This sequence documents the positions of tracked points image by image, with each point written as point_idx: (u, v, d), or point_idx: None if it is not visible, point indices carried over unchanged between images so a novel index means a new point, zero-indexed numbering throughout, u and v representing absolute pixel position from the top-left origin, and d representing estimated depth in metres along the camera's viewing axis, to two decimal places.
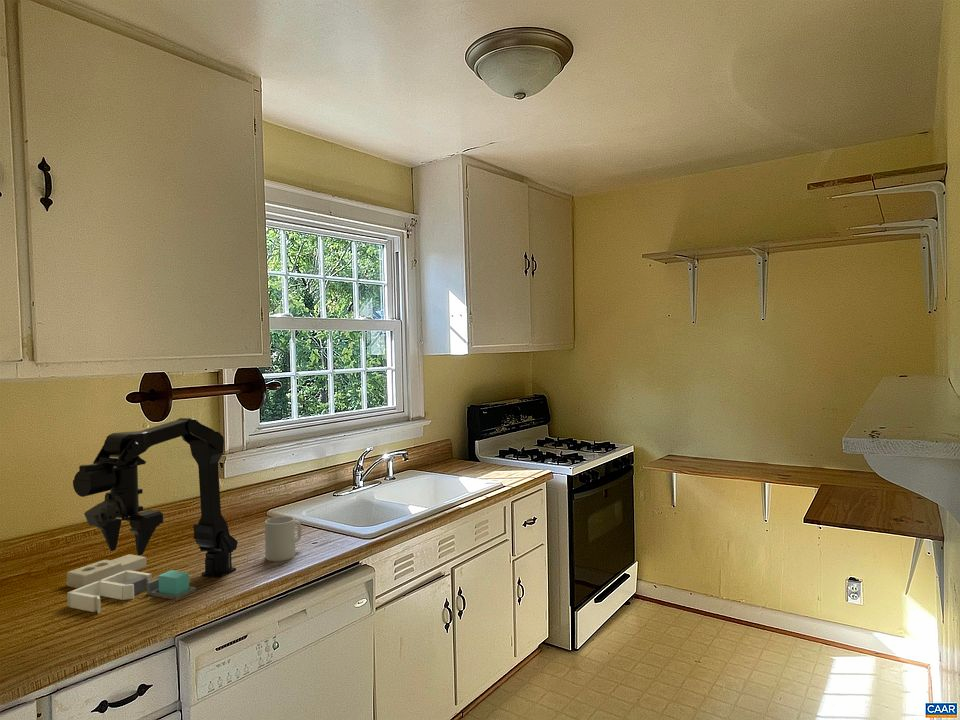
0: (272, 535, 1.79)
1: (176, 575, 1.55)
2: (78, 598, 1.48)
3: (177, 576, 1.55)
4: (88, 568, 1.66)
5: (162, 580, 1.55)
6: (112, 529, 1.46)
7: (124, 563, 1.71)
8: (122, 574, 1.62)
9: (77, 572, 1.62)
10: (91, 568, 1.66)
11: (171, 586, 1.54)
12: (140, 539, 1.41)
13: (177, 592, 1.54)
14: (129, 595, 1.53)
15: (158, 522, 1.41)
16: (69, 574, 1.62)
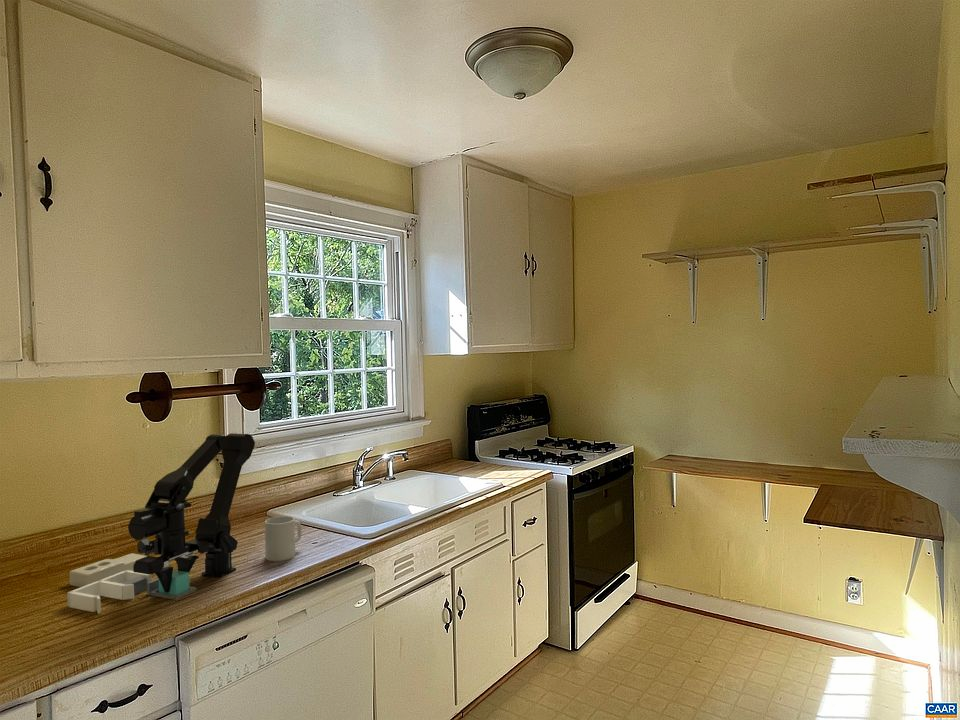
0: (272, 535, 1.79)
1: (176, 575, 1.55)
2: (78, 598, 1.48)
3: (177, 576, 1.55)
4: (91, 567, 1.67)
5: None
6: (182, 566, 1.59)
7: (126, 562, 1.72)
8: (122, 574, 1.62)
9: (80, 571, 1.63)
10: (94, 567, 1.67)
11: (171, 586, 1.54)
12: (159, 577, 1.53)
13: (177, 592, 1.54)
14: (129, 595, 1.53)
15: (144, 572, 1.47)
16: (72, 573, 1.63)
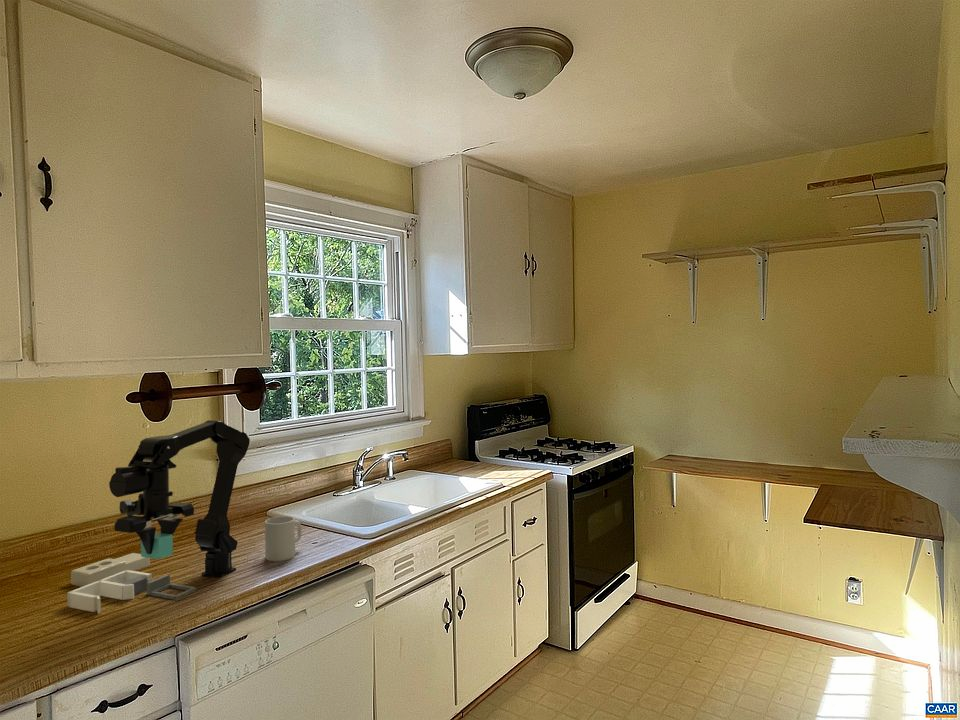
0: (272, 535, 1.79)
1: (159, 536, 1.51)
2: (78, 598, 1.48)
3: (160, 537, 1.51)
4: (92, 567, 1.67)
5: None
6: (165, 529, 1.55)
7: (128, 562, 1.72)
8: (122, 574, 1.62)
9: (81, 570, 1.63)
10: (95, 567, 1.67)
11: (153, 547, 1.50)
12: (141, 538, 1.50)
13: (160, 553, 1.50)
14: (129, 595, 1.53)
15: (126, 530, 1.43)
16: (73, 573, 1.63)
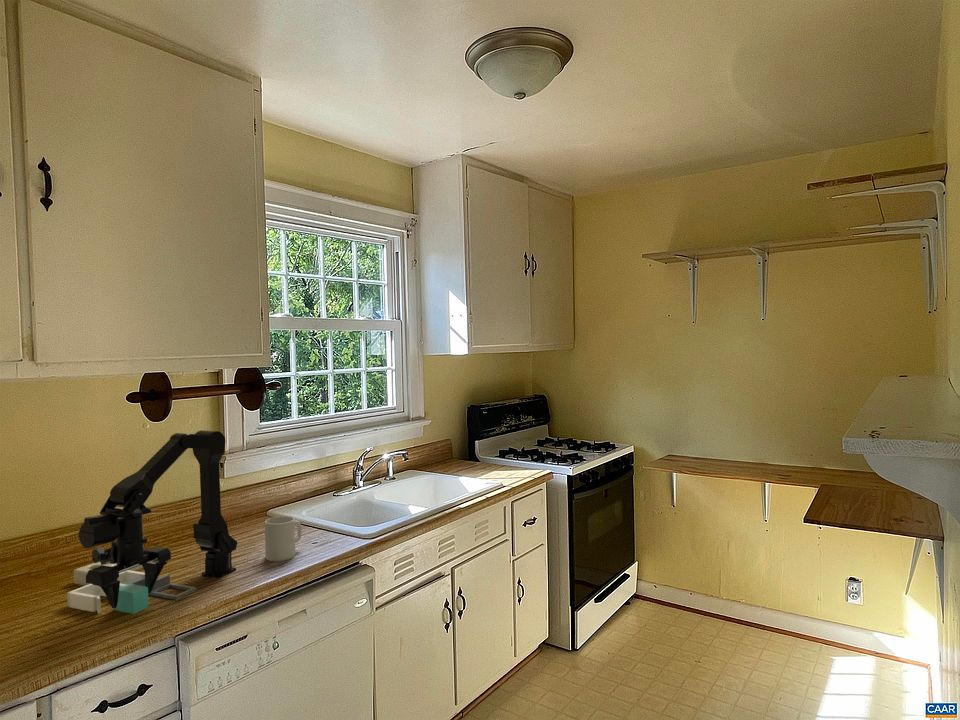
0: (272, 535, 1.79)
1: (134, 590, 1.46)
2: (78, 598, 1.48)
3: (135, 591, 1.46)
4: (95, 566, 1.68)
5: (119, 595, 1.46)
6: (149, 572, 1.52)
7: None
8: (122, 574, 1.62)
9: (84, 570, 1.64)
10: (98, 566, 1.68)
11: (127, 601, 1.45)
12: (105, 592, 1.42)
13: (134, 608, 1.45)
14: None
15: (97, 583, 1.38)
16: (76, 572, 1.64)
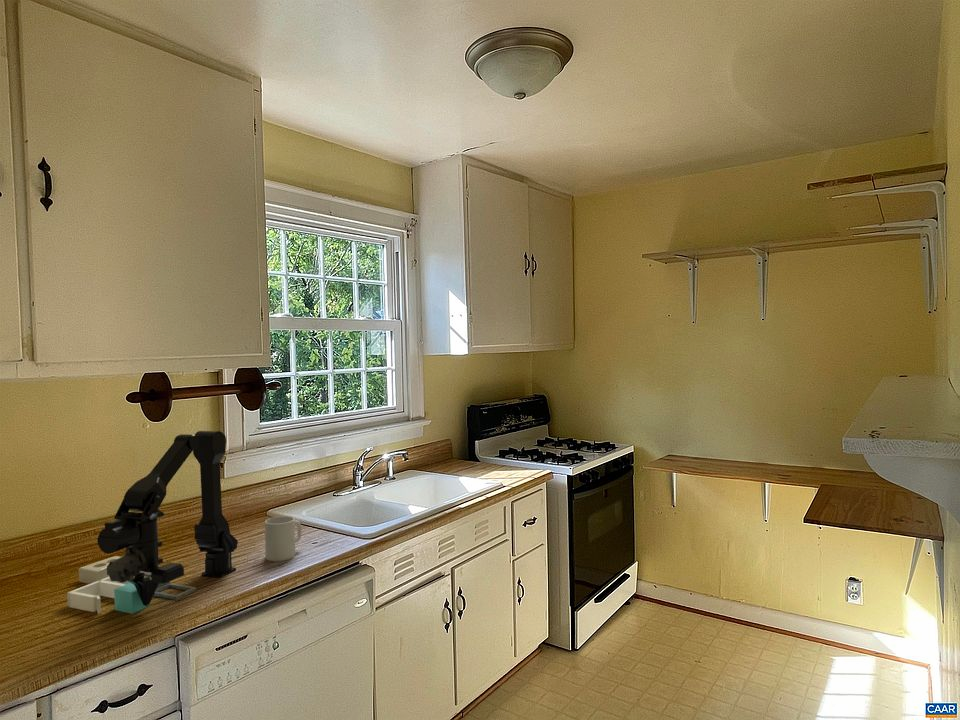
0: (272, 535, 1.79)
1: (133, 589, 1.46)
2: (78, 598, 1.48)
3: (134, 590, 1.46)
4: (99, 564, 1.69)
5: (118, 594, 1.46)
6: None
7: None
8: None
9: (89, 568, 1.65)
10: (102, 564, 1.69)
11: (127, 601, 1.45)
12: (147, 590, 1.44)
13: (133, 607, 1.45)
14: None
15: (179, 575, 1.43)
16: (81, 570, 1.65)
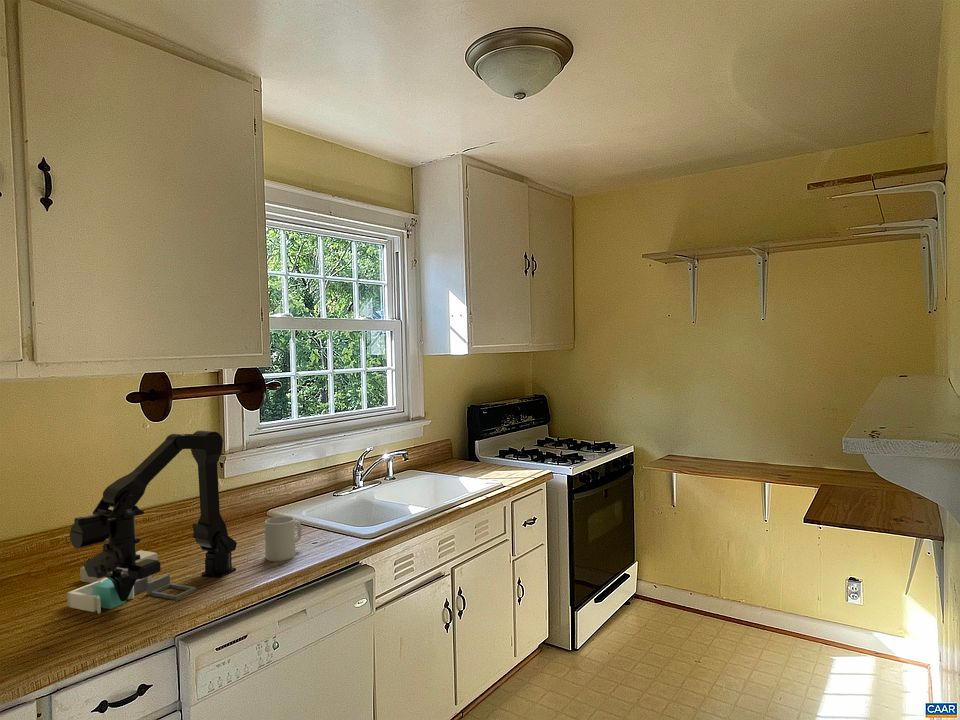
0: (272, 535, 1.79)
1: (111, 585, 1.49)
2: (78, 598, 1.48)
3: (112, 586, 1.48)
4: None
5: (96, 590, 1.49)
6: None
7: None
8: None
9: None
10: None
11: (105, 597, 1.48)
12: (124, 586, 1.47)
13: (111, 603, 1.48)
14: (129, 595, 1.53)
15: (155, 571, 1.46)
16: (83, 569, 1.66)
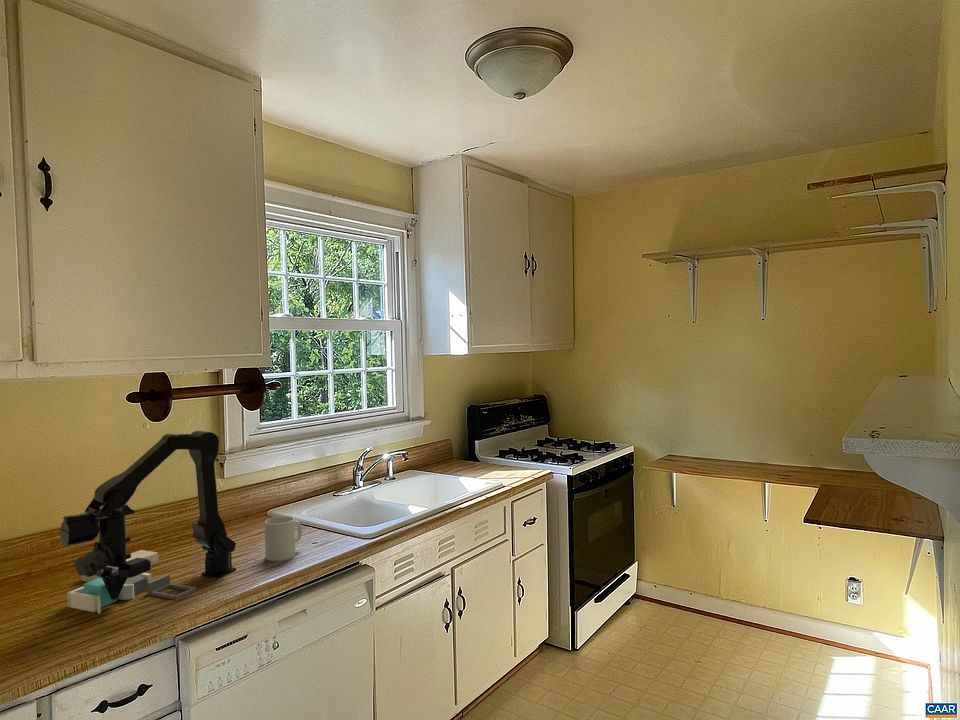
0: (272, 535, 1.79)
1: (102, 584, 1.50)
2: (78, 598, 1.48)
3: (103, 585, 1.50)
4: None
5: (87, 589, 1.50)
6: None
7: None
8: None
9: None
10: None
11: (95, 595, 1.49)
12: (115, 584, 1.48)
13: (102, 601, 1.49)
14: (129, 595, 1.53)
15: (146, 570, 1.47)
16: None
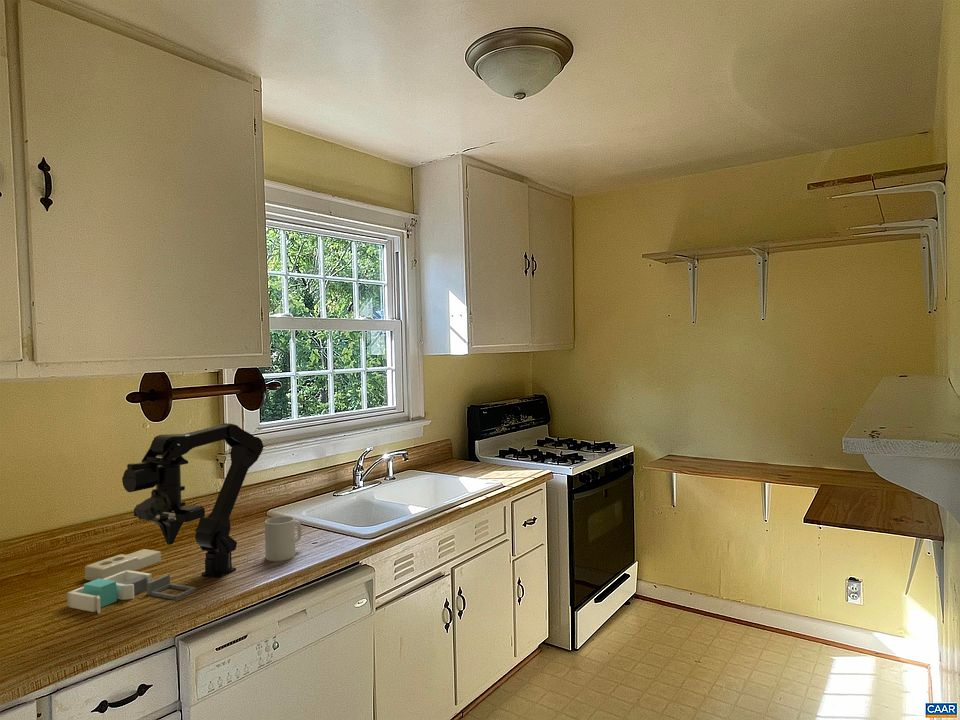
0: (272, 535, 1.79)
1: (102, 584, 1.50)
2: (78, 598, 1.48)
3: (103, 585, 1.50)
4: (105, 562, 1.70)
5: (87, 589, 1.50)
6: None
7: (140, 557, 1.76)
8: (122, 574, 1.62)
9: (95, 566, 1.67)
10: (108, 562, 1.71)
11: (96, 595, 1.49)
12: (171, 530, 1.56)
13: (102, 601, 1.49)
14: (129, 595, 1.53)
15: (200, 516, 1.55)
16: (87, 568, 1.67)
